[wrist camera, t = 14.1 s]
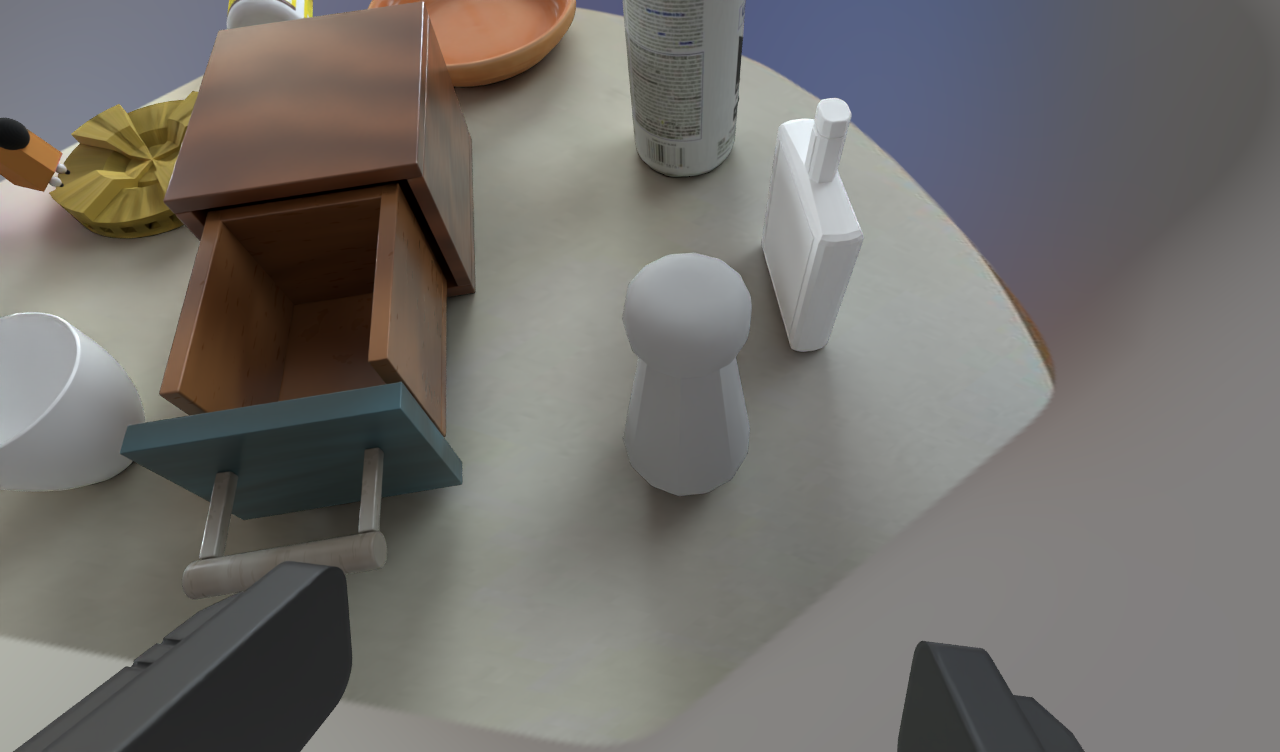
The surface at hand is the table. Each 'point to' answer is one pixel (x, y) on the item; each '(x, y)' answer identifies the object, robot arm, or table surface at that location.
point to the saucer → (493, 35)
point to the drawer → (304, 377)
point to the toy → (28, 157)
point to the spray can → (684, 81)
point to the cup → (60, 406)
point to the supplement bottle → (266, 11)
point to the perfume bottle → (810, 225)
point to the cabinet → (333, 125)
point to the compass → (125, 169)
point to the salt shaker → (687, 373)
